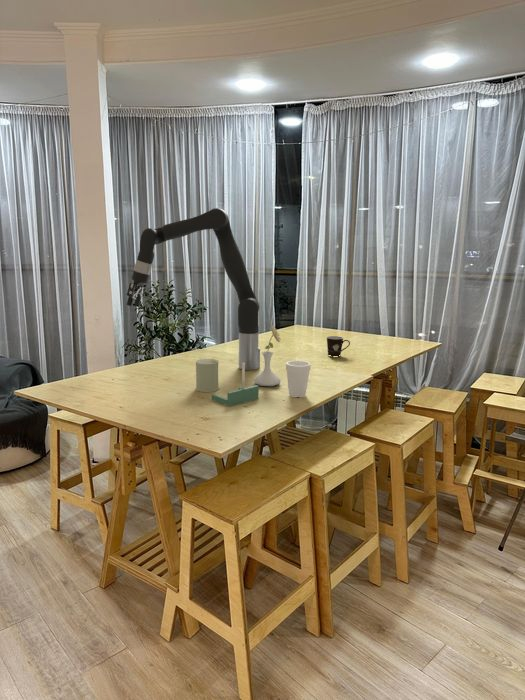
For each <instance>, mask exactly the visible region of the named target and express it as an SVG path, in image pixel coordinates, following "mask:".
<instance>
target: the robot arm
mask: <svg viewBox="0 0 525 700" xmlns="http://www.w3.org/2000/svg"><path fill="white" fill-rule="evenodd" d="M230 223H231V222H230V219H229V215H228V213H227V212H226V211H225V210H224V209H221V208H219V207H217V208H216V207H215V208H212V209H210V210H208V211H205V212H203V213H201V214H198V215H197V216H193V217H191V218H187V219H182V220H177V221H174V222H170V223H167V224H163V226H160V227H158V228H151V227H150V228H149V227H147V228H145V229H143V231H142V233H141V235H140V240H139V251H138V255H137V259H136V261H135V264H134V267H133V271H132V274H131V280H132V281H133V282H130V283H129V285H128V288H127V293H126V296H127V297H128V298H127V301H126V306H129V307H131V306H133V301H134V305H135V306H140V304H141V300H142V298H144V297H145V292H146V290H147V284H148V283H149V279H150V275H151V271H152V268H153V267H152V266H153V262H154V258H155V252H154V249H155V246H156V245H159V244H163V243H165V242H167V241H171V240H175V239H179V238H182V237H186V236H188V235H190V234H193V233H197V232H200V231H205V230H213V232H214V234H215V237H216V239H217V242H218V247H219V253H220V257H221V262H222V265H223V267H224V271H225V273H226V275H227V277H228V279H229V281H230V282H231V284H232V286H233V287H234V289H235V291H236V294H237V298H238V301H239V304H238V307H237V326H238V369H240V370H242V363H245V371H253V370H257V369H260V368H261V348H260V347H259V339H260V338H259V333H260V332H259V331H260V330H259V329H260V327H259V311H260V303H259V301H258V298H257V297H256V295H255V292H254V290H253V288H252V285H251V282H250V279H249V274H248V271H247V267H246V265H245V262H244V259H243V257H242V253H241V251H240V249H239V247H238V244H237V242H236V240H235V238H234V235H233V231H232V227H231V224H230Z"/></svg>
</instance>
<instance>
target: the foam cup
mask: <svg viewBox="0 0 525 700" xmlns="http://www.w3.org/2000/svg"><path fill="white" fill-rule="evenodd" d="M311 366H312V365H311V362H309V361H306V360H289V361H287V362H285V370H286V376H287V377H286V379H287V387H288V394H289V395H290V396H292V397H291V398H293V397H303V398H305V397H306V396H307V395H306V394H307V389H308V381H309V376H310V371H311ZM290 396H289V397H290ZM304 396H305V397H304Z"/></svg>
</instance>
